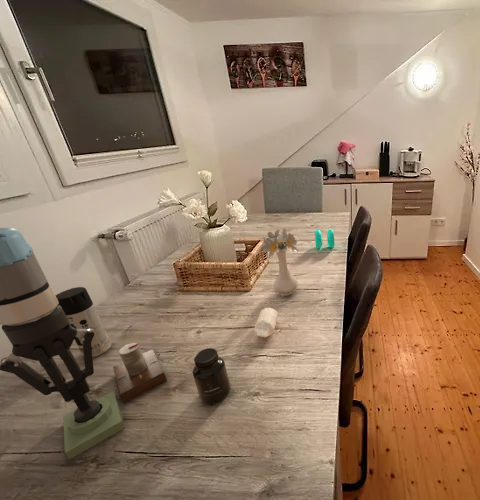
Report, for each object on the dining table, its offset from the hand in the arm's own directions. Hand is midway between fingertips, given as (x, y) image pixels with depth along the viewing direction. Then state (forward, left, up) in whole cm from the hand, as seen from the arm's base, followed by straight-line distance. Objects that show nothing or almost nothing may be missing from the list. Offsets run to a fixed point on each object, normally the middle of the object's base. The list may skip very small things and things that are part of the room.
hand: (85, 406), depth 59 cm
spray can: (-30, +3, -6) cm, 31 cm away
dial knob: (-8, +10, -3) cm, 13 cm away
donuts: (-40, +100, -6) cm, 108 cm away
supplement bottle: (+11, +22, -6) cm, 25 cm away
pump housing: (0, 0, -6) cm, 6 cm away
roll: (0, +42, -6) cm, 42 cm away
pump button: (0, 0, -3) cm, 3 cm away
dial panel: (-8, +10, -6) cm, 14 cm away
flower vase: (-17, +60, -6) cm, 63 cm away
